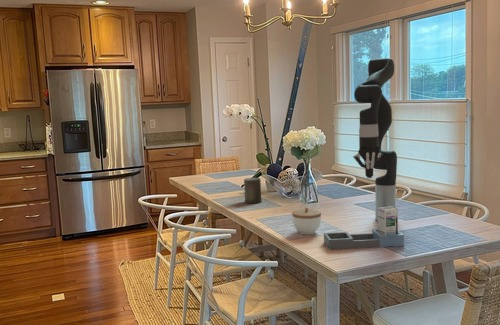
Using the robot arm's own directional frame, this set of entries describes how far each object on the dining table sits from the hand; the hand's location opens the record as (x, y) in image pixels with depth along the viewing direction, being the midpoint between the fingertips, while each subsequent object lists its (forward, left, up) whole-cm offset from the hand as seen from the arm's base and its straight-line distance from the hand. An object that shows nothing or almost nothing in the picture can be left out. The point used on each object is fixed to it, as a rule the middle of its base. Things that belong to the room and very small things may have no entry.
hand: (369, 177), depth 193 cm
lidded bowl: (-14, -24, -26) cm, 38 cm away
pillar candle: (-82, -44, -26) cm, 97 cm away
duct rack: (+7, -5, -26) cm, 27 cm away
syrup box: (+7, +5, -26) cm, 27 cm away
